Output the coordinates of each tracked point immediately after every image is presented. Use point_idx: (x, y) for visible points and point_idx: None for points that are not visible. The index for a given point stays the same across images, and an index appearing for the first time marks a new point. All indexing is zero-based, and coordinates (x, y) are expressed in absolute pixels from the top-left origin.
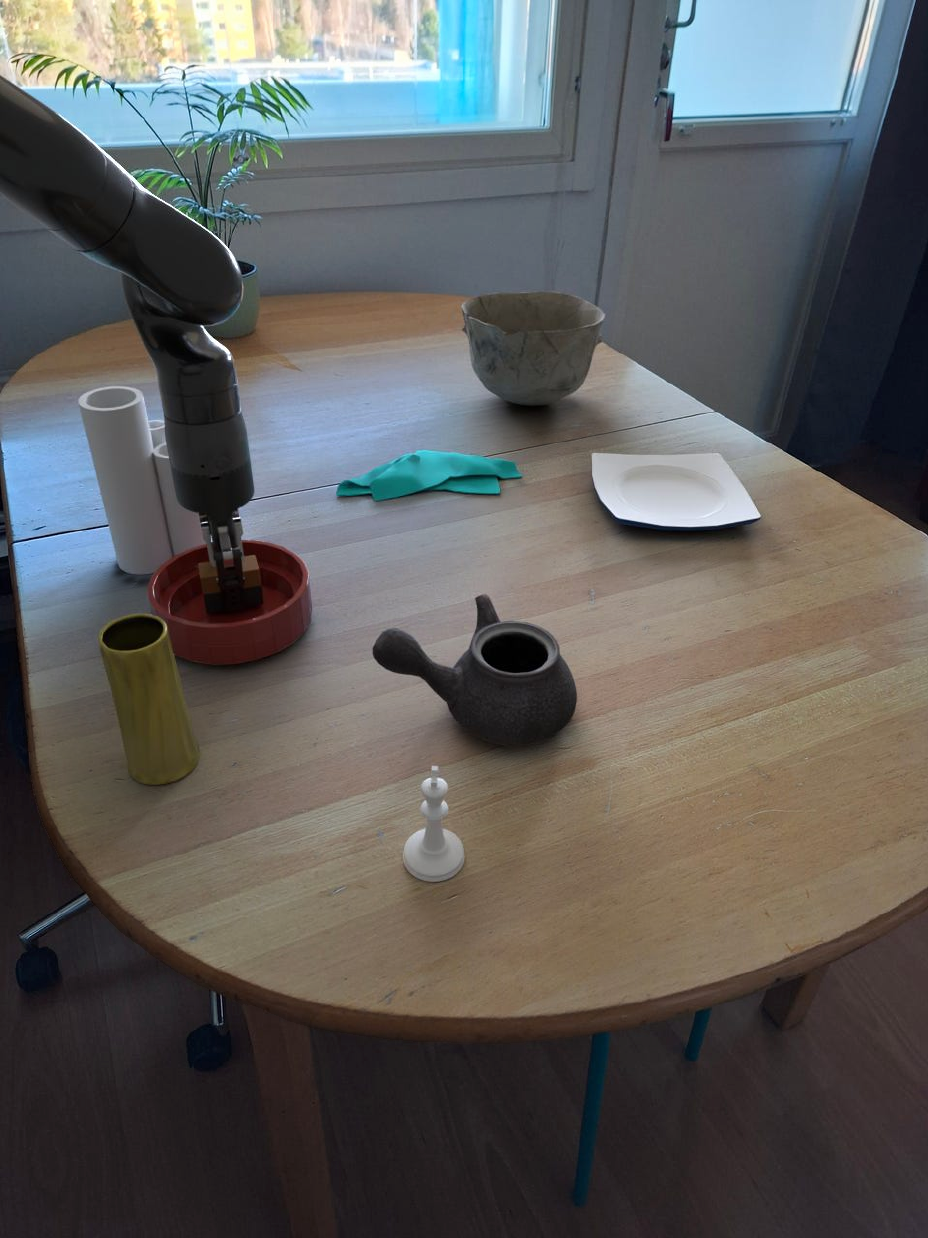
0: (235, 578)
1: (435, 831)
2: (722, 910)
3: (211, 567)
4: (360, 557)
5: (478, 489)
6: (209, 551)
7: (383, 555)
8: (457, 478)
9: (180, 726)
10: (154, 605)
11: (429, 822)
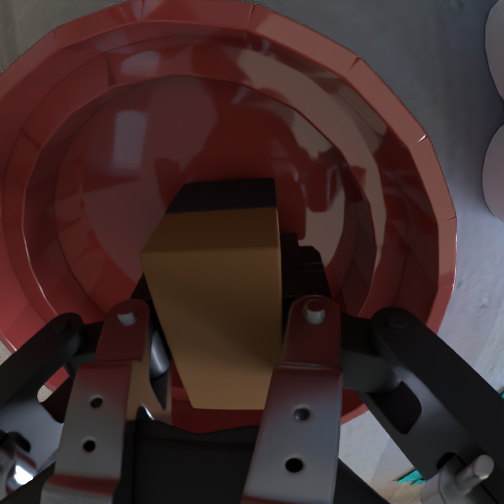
0: (73, 381)
1: None
2: None
3: (222, 301)
4: (357, 418)
5: (415, 473)
6: (67, 424)
7: (347, 434)
8: None
9: None
10: (10, 69)
11: None
